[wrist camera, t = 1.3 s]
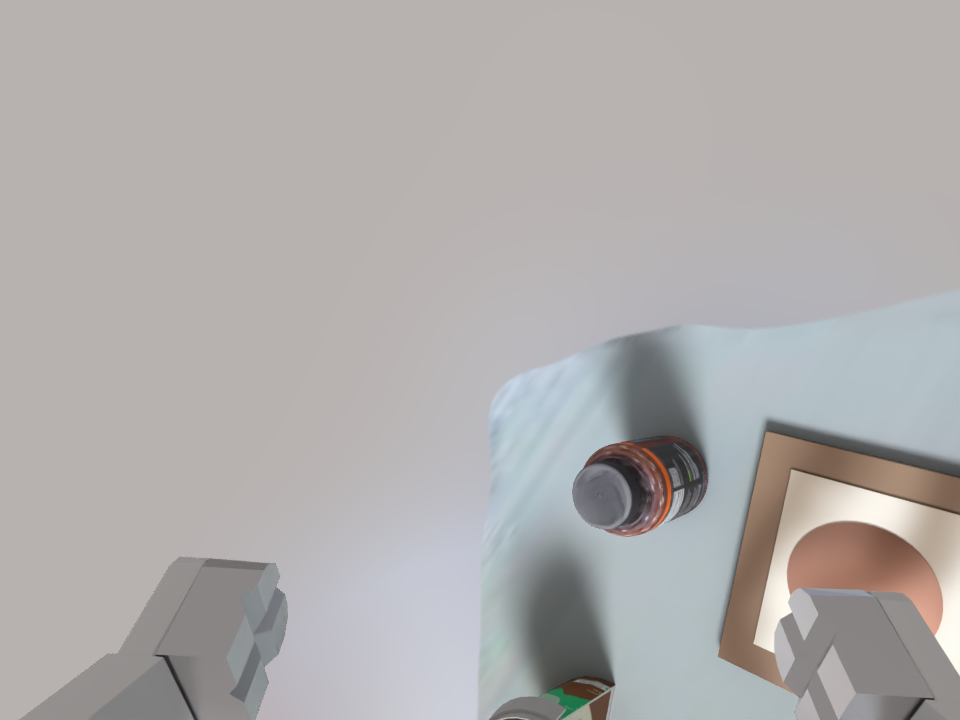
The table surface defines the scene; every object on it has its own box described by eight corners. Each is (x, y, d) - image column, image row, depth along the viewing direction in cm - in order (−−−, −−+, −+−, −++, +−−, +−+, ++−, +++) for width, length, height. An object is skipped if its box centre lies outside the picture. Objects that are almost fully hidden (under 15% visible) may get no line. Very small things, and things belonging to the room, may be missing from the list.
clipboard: (1155, 524, 30) (1163, 529, 28) (1074, 822, 31) (1079, 839, 30) (768, 431, 41) (763, 432, 40) (721, 652, 42) (714, 660, 41)
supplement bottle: (618, 472, 48) (540, 489, 39) (667, 418, 45) (596, 424, 36) (672, 532, 45) (601, 566, 36) (728, 478, 42) (667, 501, 34)
